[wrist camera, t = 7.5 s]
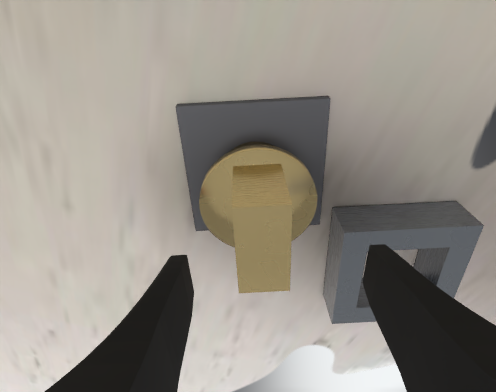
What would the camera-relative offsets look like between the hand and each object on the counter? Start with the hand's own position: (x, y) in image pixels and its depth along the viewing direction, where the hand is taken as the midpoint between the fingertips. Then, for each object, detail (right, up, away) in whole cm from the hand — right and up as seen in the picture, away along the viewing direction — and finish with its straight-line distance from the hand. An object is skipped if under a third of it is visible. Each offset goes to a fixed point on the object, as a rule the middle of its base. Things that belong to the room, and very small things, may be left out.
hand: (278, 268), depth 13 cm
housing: (+10, -2, +13) cm, 16 cm away
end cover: (-1, +4, +8) cm, 9 cm away
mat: (-1, +5, +9) cm, 10 cm away
